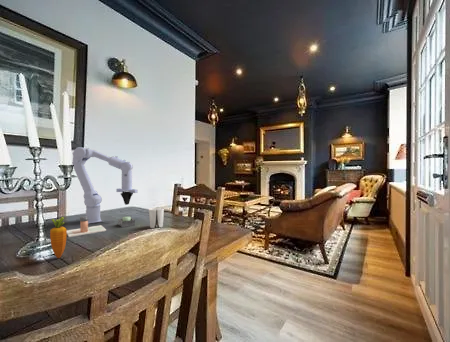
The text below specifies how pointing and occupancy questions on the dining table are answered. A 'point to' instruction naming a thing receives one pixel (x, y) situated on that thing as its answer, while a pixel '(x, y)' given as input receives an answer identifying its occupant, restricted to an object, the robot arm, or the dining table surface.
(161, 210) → the white cup
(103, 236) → the dining table surface
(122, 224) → the frame
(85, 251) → the dining table surface
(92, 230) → the picture sheet
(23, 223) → the dining table surface
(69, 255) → the dining table surface
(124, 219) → the button
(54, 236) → the carrot
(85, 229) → the marker
